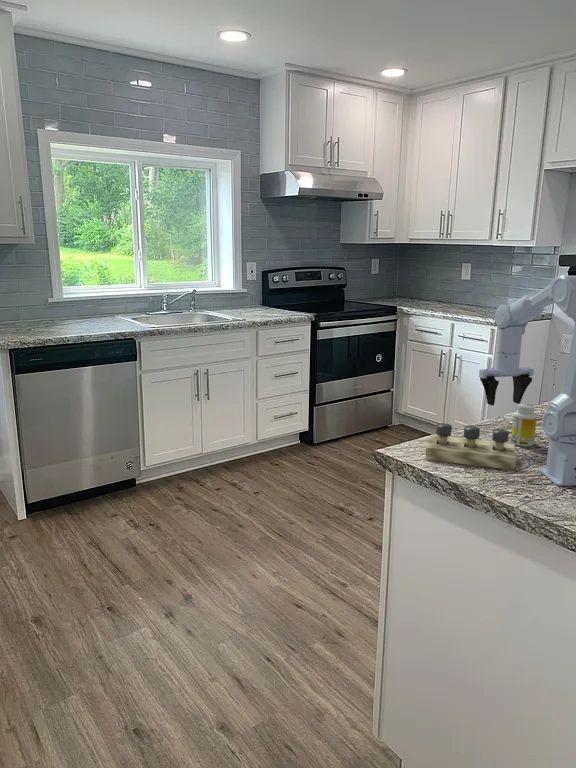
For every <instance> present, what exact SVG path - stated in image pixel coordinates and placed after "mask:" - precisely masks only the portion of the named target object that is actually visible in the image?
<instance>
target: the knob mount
mask: <svg viewBox="0 0 576 768" xmlns="http://www.w3.org/2000/svg"><path fill="white" fill-rule="evenodd" d="M466 443H467V438H464V437H463V438H461V437H454V436H448V438H447V445H442V444H439V435H436V434H434V435H433V434H430V436H429V437H428V441H427V444H426V447H425V460H427V461H435V460H436V462H443V461H444V462H445V463H452V462H453V463H454V464H463V465H470V466H477V465H478V466H479V467H485V466H486V467H487V468H493V469H494V468H496V469H503V470H504V469H505V470H511V471H515V468H516V460H517V456H516V447H515V446H516V445H515V444H513V443H512V442H511V443H510V442H509V443H508V442H504V451H496V450H495V441H493V440H492V441H490V440H480V439H476V440H475V448H469V447H466ZM444 462H443V463H444ZM453 463H452V464H453ZM478 466H477V467H478ZM486 467H485V468H486Z"/></svg>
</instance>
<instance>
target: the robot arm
mask: <svg viewBox="0 0 576 768" xmlns="http://www.w3.org/2000/svg"><path fill="white" fill-rule="evenodd" d="M553 304H555V305H556V307H558V308H559V309H560V310H561V311H562V312H563V313H564V314H565V316H566V317H568V318H570V319H572V321H573V322H574V328H573V333H572V338H571V341H570V347H569V353H568V357H567V360H566V361H567V362H566V367H565V371H564V376H563V381H562V386H561V390H560V394H558V395H557V396H556V397H554V398H552V399H551V400H550V401H549V403H548V406H547V409H546V411H545V413H544V414H543V416H542V420H541V421H542V423H541V424H542V428H543V431H544V433H545V435H546V437H549V439H548V450H547V456H546V457H547V458H546V466H544V467H538V468H537V469H538V471H539V472H540V473H542V475H544V476H546V478H547V479H549V480H550V481H551V482H552V483H553V484H555V485H556V486H558V487H559V486H560V487H561V486H563V487H564V486H576V275H566V274H561V275H558V276H557V277H555V278H553V279H551V281H550V284H549V285H547V286H546V287H544V288H543V289H542V290H540V291H539V292H538V293H532V292H526V293H523V294H522V297H520V298H519V299H517V300H513V301H512V303H511V304H508V305H507V304H500V305H499V306H498V307H497V308H496V310H495V314H494V322H495V324H496V325H495V326H496V327H498V335H497V344H496V357H495V366H494V367H491V368H484V369H479V372H478V373H479V375H478V377H479V380H480V382H481V384H482V386H483V389H484V392H485V397H486V403H487V404H488V405H490V406H494V405H495V403H496V393H497V390H498V386H499V383H500V381H499V380H496V378H505V377H511V378H512V385H513V392H512V393H513V394H512V402H513V403H515V404H518V405H519V404H521V401H522V399H523V397H524V394H525V392H526V390H527V389H528V387H529V385H531V383H532V382H533V378H532V377H533V376H534V371H535V369H534V368H533V367H527V366H526V367H522V366H521V367H520V361H521V351H522V350H521V349H522V343H523V342H522V339H523V335H524V334H525V333H526V327H527V326H528V324H529V321H531V320H533V319H535V318H538V317H539V316H541V315H542V314H543V313H544V311H545V308H546V307H548V306H551V305H553Z"/></svg>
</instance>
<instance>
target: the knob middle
mask: <svg viewBox="0 0 576 768" xmlns="http://www.w3.org/2000/svg"><path fill="white" fill-rule="evenodd" d="M480 433H481V429H480V427H478V426H475V425H474V426H473V425H467V426H464V427H463V438H464V439H467V443H466V447H469V448H475V440H480Z"/></svg>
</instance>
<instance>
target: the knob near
mask: <svg viewBox="0 0 576 768" xmlns="http://www.w3.org/2000/svg"><path fill="white" fill-rule="evenodd" d="M509 435H510V431H509V430H507V429H505V428H494V429H492V435H491V440H492V442H495V450H496V451H504V443H508V442H509V437H510V436H509Z"/></svg>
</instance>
